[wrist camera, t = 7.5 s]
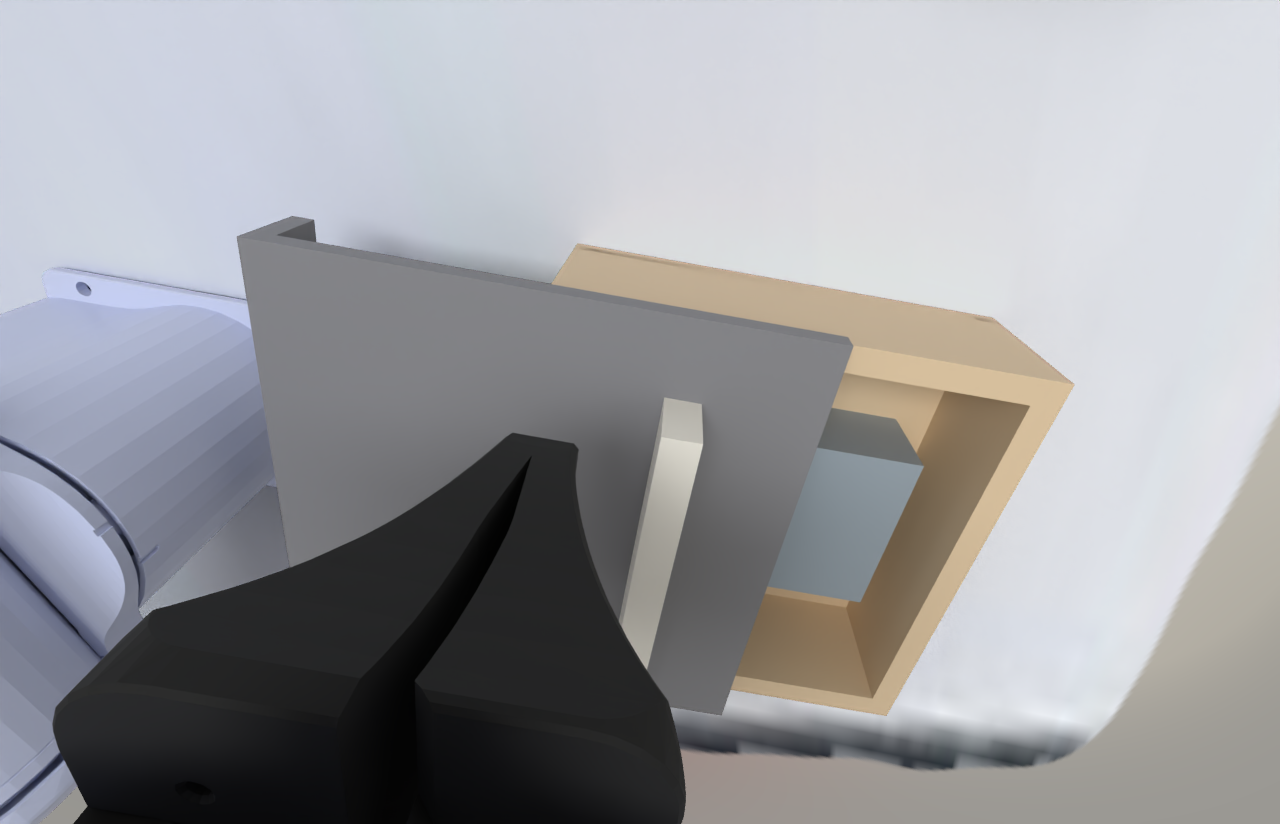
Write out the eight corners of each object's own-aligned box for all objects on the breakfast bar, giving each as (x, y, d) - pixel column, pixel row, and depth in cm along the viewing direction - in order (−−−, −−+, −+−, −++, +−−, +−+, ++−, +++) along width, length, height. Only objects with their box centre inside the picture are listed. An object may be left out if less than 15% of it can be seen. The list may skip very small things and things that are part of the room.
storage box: (542, 559, 27) (514, 653, 23) (577, 243, 20) (546, 290, 16) (855, 613, 27) (886, 715, 23) (992, 317, 21) (1074, 384, 16)
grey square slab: (335, 595, 24) (268, 694, 20) (292, 216, 17) (176, 258, 13) (718, 659, 24) (724, 770, 21) (833, 312, 17) (874, 382, 13)
